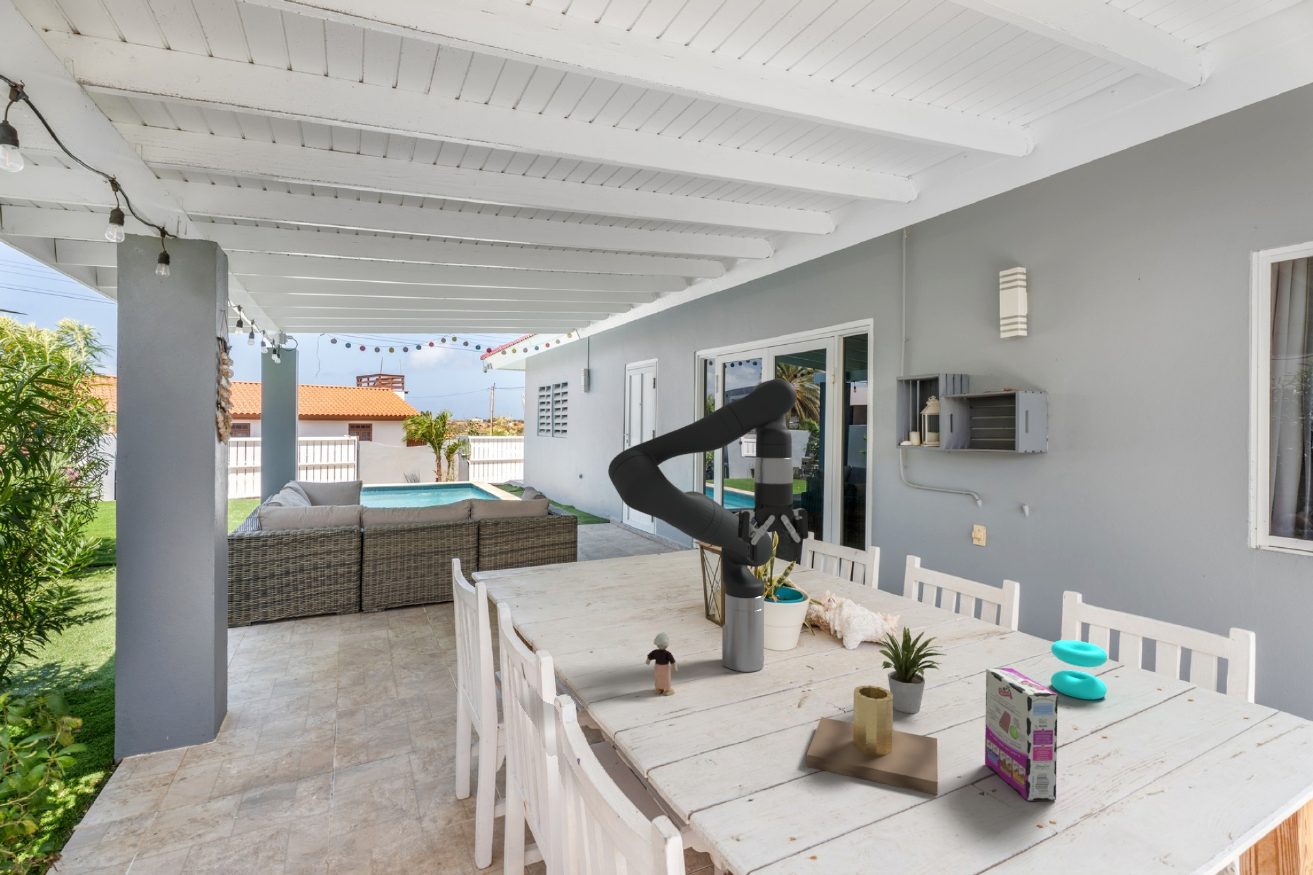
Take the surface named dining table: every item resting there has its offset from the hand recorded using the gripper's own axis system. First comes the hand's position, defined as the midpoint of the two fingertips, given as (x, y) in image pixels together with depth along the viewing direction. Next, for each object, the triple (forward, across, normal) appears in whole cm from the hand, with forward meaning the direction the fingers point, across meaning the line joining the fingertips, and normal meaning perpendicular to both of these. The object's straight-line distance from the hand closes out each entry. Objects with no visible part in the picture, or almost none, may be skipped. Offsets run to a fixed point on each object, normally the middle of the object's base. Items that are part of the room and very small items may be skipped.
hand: (773, 561), depth 125 cm
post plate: (+30, +9, -20) cm, 37 cm away
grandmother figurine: (+30, -18, +15) cm, 39 cm away
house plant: (+30, +26, -6) cm, 40 cm away
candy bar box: (+30, +27, -33) cm, 52 cm away
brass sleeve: (+28, +9, -20) cm, 36 cm away
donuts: (+30, +68, -9) cm, 75 cm away
